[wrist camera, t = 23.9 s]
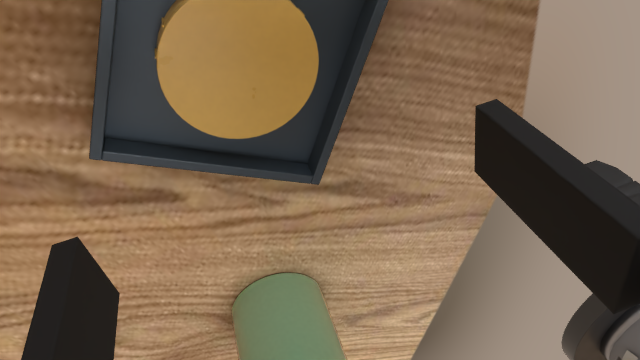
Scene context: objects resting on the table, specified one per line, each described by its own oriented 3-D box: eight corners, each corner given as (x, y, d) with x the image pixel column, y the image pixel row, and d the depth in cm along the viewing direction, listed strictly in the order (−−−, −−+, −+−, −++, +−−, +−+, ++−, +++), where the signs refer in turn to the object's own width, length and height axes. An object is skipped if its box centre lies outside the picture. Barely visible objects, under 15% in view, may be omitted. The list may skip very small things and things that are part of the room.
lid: (140, -21, 22) (139, -11, 20) (310, -30, 23) (319, -22, 22) (171, 132, 26) (172, 148, 25) (310, 114, 28) (318, 129, 27)
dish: (385, -39, 25) (400, -31, 23) (311, 168, 31) (319, 185, 30) (115, -131, 19) (112, -129, 18) (92, 140, 26) (88, 159, 24)
